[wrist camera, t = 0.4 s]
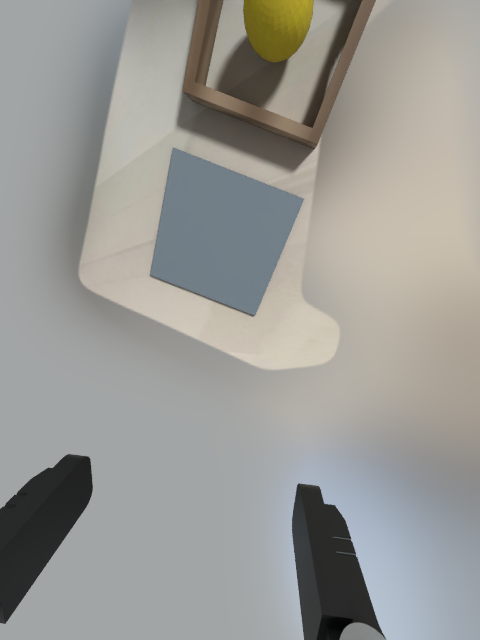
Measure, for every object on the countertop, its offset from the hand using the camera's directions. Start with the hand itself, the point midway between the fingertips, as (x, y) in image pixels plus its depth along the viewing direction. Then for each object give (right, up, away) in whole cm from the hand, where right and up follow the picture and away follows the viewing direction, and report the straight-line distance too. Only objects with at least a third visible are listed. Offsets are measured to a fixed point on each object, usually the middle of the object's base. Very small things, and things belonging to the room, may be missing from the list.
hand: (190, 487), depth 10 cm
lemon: (+6, +33, +15) cm, 37 cm away
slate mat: (-1, +17, +24) cm, 29 cm away
